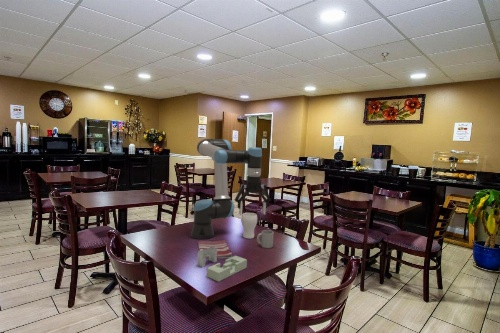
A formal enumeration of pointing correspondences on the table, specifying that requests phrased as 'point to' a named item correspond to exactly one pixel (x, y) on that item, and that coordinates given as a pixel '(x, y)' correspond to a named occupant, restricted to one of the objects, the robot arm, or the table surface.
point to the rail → (226, 268)
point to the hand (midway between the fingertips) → (252, 214)
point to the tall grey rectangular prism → (203, 253)
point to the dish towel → (220, 245)
